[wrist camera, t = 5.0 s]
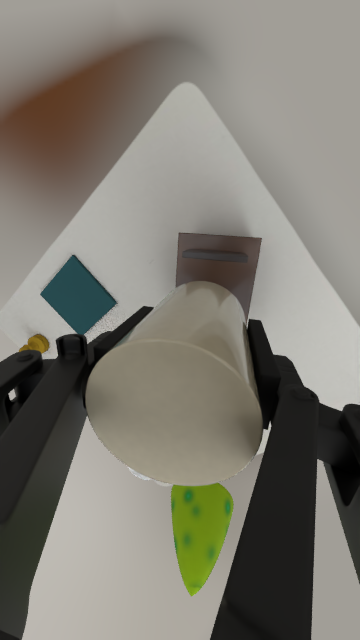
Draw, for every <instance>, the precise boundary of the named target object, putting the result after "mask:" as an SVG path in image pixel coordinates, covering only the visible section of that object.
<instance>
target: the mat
mask: <svg viewBox="0 0 360 640" xmlns="http://www.w3.org/2000/svg"><path fill="white" fill-rule="evenodd" d="M40 295H41V296H42V297H43V298H44V299H45V300H46V301H47V302H48V303H49V304H50V305H51V306H52V307H53V308H54V309H55V310H56V312H57V313H58V314H59V315H60V316H61V317H62V318H63V319H64V320H65V321H66V322H67V323H68V324H69V325H70V326H71V327H72V328H73V329H74V330H75V331H76V332H77V334H81V335H84V334H85V333H86V332H87V331H88V330H89V329H90V328H91V327H92V326H93V325H94V324H95V323H96V322H97V321H99V320H100V319H101V318H102V317H103V316H104V315H105V314H106V313H107V312H108V311H109V310H110V309H111V308H112V307H113V306H114V305H115V304H117V302H116V301H115V300H114V299H113V298H112V297H111V295H110V294H109V293H108V292H107V291H106V290H105V289H104V288H103V287H102V285H101V284H100V283H99V282H98V281H97V280H96V279H95V278H94V277H93V275H92V274H91V273H90V272H89V271H88V270H87V269H86V268H85V267H84V265H83V264H82V263H81V262H80V261H79V260H78V259H77V258H76V257H75V255H72V256H71V258H70V259H69V260H68V261H67V262H66V264H65V265H64V266H63V267H62V268H61V270H60V271H59V272H58V273H57V274H56V276H55V277H54V278H53V279H52V280H51V282H50V283H49V284H48V285H47V286H46V288H45V289H44V290H43V291H42V292H41V294H40Z"/></svg>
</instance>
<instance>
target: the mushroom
mask: <svg viewBox="0 0 360 640" xmlns="http://www.w3.org/2000/svg"><path fill="white" fill-rule="evenodd" d="M171 507H172V523H173V534H174V542H175V548H176V554H177V559H178V564H179V568H180V572H181V575H182V578H183V581H184V584H185V586H186V588H187V590H188V592H189V594H190V595H191V596H193V595H194V594H196V593H197V592H198V591H199V590H200V589H201V588H202V586H203V585H204V584H205V582H206V580H207V579H208V577H209V575H210V573H211V571H212V569H213V568H214V565H215V563H216V561H217V559H218V556H219V553H220V551H221V548H222V546H223V543H224V540H225V537H226V533H227V530H228V527H229V523H230V520H231V516H232V512H233V499H232V497H231V495H230V493H229V492H228V491H227V490H226V489H225V488H224V487H223V486H222V485H220V484H219V483H215V484H210V485H204V486H181V485H173V487H172V491H171Z"/></svg>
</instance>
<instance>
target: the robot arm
mask: <svg viewBox="0 0 360 640" xmlns="http://www.w3.org/2000/svg"><path fill="white" fill-rule="evenodd" d="M152 309H154V307H147V306H143V307H142V308H141V309H139V310H138V311H137V312H136V313H135V314H133V315H132V316H131V317H130V318H128V319H127V320H126V321H125V322H123V323H122V324H121V325H120V326H119V327H117V328H116V329H115V330H114V331H107V332H105V333H102V334H100V335H99V336H98V337H96V339H94V340H92V342H90V343H89V344H87V339H86V337H85V336H84V335H81V334H68V335H64V336H61V337H59V338H58V339H56V344H57V351H58V357H57V358H56V359H42V354H41V352H40V351H37V350H23V351H21V352H17V353H15V354H13V355H11V356H9V357H8V358H7V359H5V360H3V361H1V362H0V640H22V636H23V633H24V629H25V625H26V619H27V614H28V605H29V595H30V590H31V586H32V582H33V579H34V576H35V572H36V569H37V566H38V563H39V560H40V557H41V554H42V551H43V548H44V545H45V542H46V539H47V536H48V533H49V530H50V527H51V523H52V520H53V518H54V514H55V511H56V508H57V505H58V502H59V499H60V496H61V493H62V490H63V487H64V484H65V481H66V478H67V475H68V472H69V469H70V465H71V462H72V460H73V456H74V453H75V450H76V447H77V444H78V441H79V438H80V435H81V432H82V429H83V426H84V423H85V420H86V417H87V411H86V405H85V391H86V385H87V382H88V378H89V376H90V374H91V371H92V369H93V368H94V366H95V365H96V364H97V362H98V361H99V360H100V359H101V358H102V357H103V356H104V355H105V354H106V353H107V352H108V351H109V350H110V349H111V348H112V347H113V346H114V345H116V344H117V343H118V342H119V341H120V340H121V339H122V338H123V337H124V336H125V335H126V334H127V333H128V332H129V331H130V330H131V329H132V328H133V327H135V326H136V325H137V324H138V323H139V322H140V321H141V320H142V319H143V318H144V317H145V316H146V315H147V314H148V313H149V312H150V311H151V310H152ZM247 332H248V338H249V344H250V349H251V355H252V360H253V366H254V372H255V377H256V383H257V389H258V394H259V400H260V406H261V411H262V417H263V429H267V430H268V427H269V423H270V421H271V426H272V427H271V430H270V434H269V437H268V441H267V444H266V448H265V451H264V455H263V458H262V462H261V465H260V469H259V472H258V476H257V479H256V483H255V486H254V490H253V493H252V497H251V500H250V504H249V507H248V511H247V514H246V518H245V521H244V525H243V528H242V532H241V535H240V539H239V542H238V546H237V549H236V553H235V556H234V560H233V563H232V566H231V570H230V574H229V577H228V581H227V584H226V588H225V591H224V594H223V597H222V601H221V604H220V607H219V611H218V614H217V617H216V620H215V624H214V627H213V631H212V634H211V638H210V640H311V626H312V597H313V596H312V595H313V567H314V537H315V507H316V505H315V504H316V479H317V459H319V460H322V461H323V462H324V466H325V470H326V473H327V477H328V480H329V483H330V487H331V490H332V493H333V496H334V500H335V503H336V506H337V510H338V513H339V517H340V520H341V523H342V527H343V529H344V533H345V536H346V540H347V543H348V546H349V550H350V553H351V557H352V559H353V563H354V567H355V570H356V573H357V576H358V580H359V583H360V405H357V404H347V405H345V406H344V408H343V410H342V411H339V410H336V409H334V408H331V407H328V406H326V405H323V404H321V403H319V399H318V396H317V395H316V394H315V393H314V392H313V391H311V390H310V389H308V388H306V387H304V385H303V383H302V381H301V379H300V377H299V375H298V373H297V371H296V369H295V367H294V365H293V363H292V361H291V360H289V359H288V358H287V357H286V356H280V355H273V353H272V350H271V347H270V345H269V342H268V339H267V336H266V333H265V331H264V328H263V325H262V322H261V320H253V319H249V322H248V328H247ZM13 389H14V390H15V394H16V397H15V398H14V399H13V400H10V399H9V395H8V393H9V392H10V391H11V390H13Z"/></svg>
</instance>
